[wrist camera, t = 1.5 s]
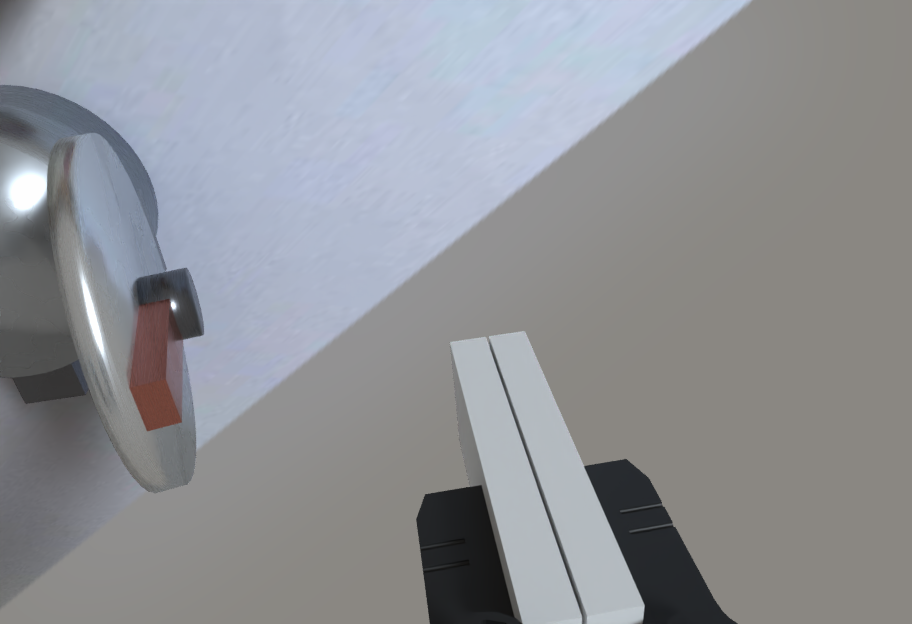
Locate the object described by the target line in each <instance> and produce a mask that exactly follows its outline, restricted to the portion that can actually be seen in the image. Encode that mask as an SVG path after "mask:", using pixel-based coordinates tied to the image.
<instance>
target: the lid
mask: <svg viewBox="0 0 912 624" xmlns="http://www.w3.org/2000/svg"><path fill="white" fill-rule="evenodd" d="M47 208H48V218H49V229H50V236H51V243H52V250H53V257H54V262H55V267H56V273H57V278H58V283H59V288H60V292H61V296H62V301H63V305H64V309H65V313H66V317H67V321H68V325H69V328H70V332H71V335H72V339H73V343H74V346H75V349H76V353H77V356H78V359H79V362H80V365H81V368H82V371H83V374H84V377H85V380H86V383H87V385H88V388H89V391H90V393H91V396H92V399H93V402H94V404H95V406H96V409H97V411H98V414H99V416H100V418H101V421H102V423H103V425H104V428H105V430H106V432H107V434H108V436H109V438H110V440H111V442H112V444H113V446H114V448H115V450H116V451H117V453H118V455H119V457H120V458H121V460H122V462H123V464H124V465H125V467H126V468H127V469H128V471H129V472H130V474H131V475H132V477H133V478H134V479H135V480H136V481H137V482H138V483H139V484H140V485H141V486H142V487H143V488H145V489H146V490H147V491H149V492H153V493H158V492H162V491H165V490H169V489H172V488H176V487H179V486H183V485H187V484H188V483H189V482H190V481H191V479H192V476H193V473H194V468H195V461H196V428H195V416H194V407H193V398H192V392H191V385H190V379H189V373H188V367H187V362H186V357H185V352H184V347H183V340H184V339H188V338H193V337H197V336H202V335H204V324H203V318H202V313H201V308H200V304H199V300H198V296H197V293H196V289H195V286H194V283H193V280H192V277H191V275H190V272H189V270H188V269H187V268H182V269H177V270H172V271H168V272H164V269H163V266H162V262H161V259H160V256H159V253H158V250H157V247H156V244H155V241H154V238H153V235H152V232H151V229H150V226H149V224H148V221H147V219H146V216H145V213H144V211H143V208H142V206H141V203H140V201H139V198H138V196H137V194H136V191H135V189H134V187H133V185H132V183H131V180H130V178H129V176H128V174H127V172H126V170H125V168H124V166H123V165H122V163H121V161H120V159H119V158H118V156H117V154H116V153H115V151H114V150H113V148H112V147H111V146H110V144H109V143H108V142H107V141H106V140H105V139H104V138H103V137H102V136H100V135H99V134H96V133H88V134H82V135H76V136H69V137H64V138H61V139H58V141H57V142H56V143H55V144H54V146H53V148H52V151H51V153H50V158H49V164H48V172H47Z"/></svg>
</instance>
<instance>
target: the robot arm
mask: <svg viewBox="0 0 912 624" xmlns="http://www.w3.org/2000/svg"><path fill="white" fill-rule="evenodd" d="M489 344H490V347H489ZM489 344H488V341H487V339H486V337H482V338H475V339H468V340H462V341H455V342H450V348H451V358H452V369H453V379H454V388H455V399H456V410H457V420H458V431H459V441H460V445H461V450H462V454H463V458H464V463H465V467H466V472H467V476H468V480H469V485H470V487H466V488H461V489H455V490H448V491H443V492H437V493H431V494H425V497H424V499H423V502H422V505H421V508H420V510H419V513H418V516H417V519H416V520H417V528H418V536H419V543H420V550H421V558H422V566H423V574H424V581H425V589H426V597H427V605H428V612H429V620H430V624H737V623H736V622H734V621H733V620H732V619H730V618H729V617H728V616H727V615H726V614H725V613H724V612H723V611H722V610H721V608H720V607H719V605H718V604H717V603H716V601H715V600H714V598H713V596H712V594H711V592H710V590H709V589H708V587H707V585H706V583H705V581H704V579H703V578H702V576H701V574H700V572H699V570H698V568H697V566H696V565H695V563H694V561H693V559H692V558H691V555H690V553H689V552H688V550H687V548H686V546H685V544H684V542H683V541H682V539H681V537H680V535H679V533H678V531H677V529H676V528H675V527H673V524H672V520H671V518H670V517H669V515H668V513H667V511H666V509H665V507H663V506H662V502H661V500H660V498H659V496H658V494H657V492H656V491H655V489H654V487H653V485H652V483H651V481H650V479H649V478H648V477H647V476H646V475H644V474H643V473H642V472H641V471H640V470H639V469H637V468H636V467H635V466H634V465H633V464H631V463H630V462H629V461H628V460H627V459H624V460H618V461H612V462H606V463H600V464H594V465H588V466H583V463H582V461H581V459H580V457H579V454H578V452H577V450H576V447H575V445H574V443H573V440H572V438H571V436H570V434H569V431H568V429H567V427H566V424H565V422H564V420H563V418H562V415H561V413H560V411H559V408H558V406H557V404H556V402H555V399H554V397H553V395H552V393H551V390H550V388H549V386H548V383H547V381H546V379H545V376H544V374H543V372H542V370H541V367H540V365H539V363H538V360H537V358H536V356H535V354H534V351H533V349H532V347H531V344H530V342H529V340H528V338H527V335H526V333H525V331H522V332H515V333H509V334H502V335H495V336H489Z"/></svg>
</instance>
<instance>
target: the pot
mask: <svg viewBox="0 0 912 624" xmlns="http://www.w3.org/2000/svg"><path fill="white" fill-rule="evenodd" d="M88 133H96V134H99V135H100V136H102V137H103V138H104V139H105V140H106V141H107V142H108V143H109V144H110V146H111V147H112V148H113V150H114V151H115V153H116V154H117V156H118V158H119V159H120V161H121V163H122V165H123V166H124V168H125V170H126V172H127V174H128V176H129V178H130V180H131V183H132V185H133V187H134V189H135V191H136V194H137V196H138V198H139V201H140V203H141V206H142V208H143V211H144V213H145V216H146V219H147V221H148V224H149V226H150V229H151V232H152V235H153V238H154V241H155V244H156V247H157V250H158V253H159V256H160V259H161V262H162V266H163V269H164V272H165V271H166V269H167V268H166V265H165V262H164V259H163V256H162V253H161V250H160V247H159V244H158V241H157V238H156V234H157V229H158V208H157V200H156V196H155V192H154V188H153V185H152V183H151V180H150V178H149V175H148V173H147V171H146V170H145V168H144V166H143V164H142V162H141V161H140V159H139V158H138V156H137V155H136V154H135V152H134V151H133V149H132V148H131V147H130V146H129V144H128V143H127V142H126V141H125V140H124V139H123V138H122V137H121V136H120V135H119V134H118V133H117V132H116V131H115V130H114V129H113V128H112V127H111V126H109V125H108V124H107V123H106V122H105V121H103V120H102V119H100V118H99V117H98V116H96V115H95V114H93V113H92V112H90V111H89V110H87V109H85V108H83V107H82V106H80V105H78V104H76V103H74V102H72V101H70V100H67V99H65V98H63V97H60V96H58V95H55V94H52V93H49V92H45V91H42V90H38V89H33V88H28V87H23V86H11V85H0V378H13V380H14V382H15V384H16V386H17V388H18V390H19V392H20V394H21V396H22V398H23V399H24V401H25V403H26V404H27V403H34V402H41V401H47V400H54V399H61V398H68V397H74V396H81V395H86V393H87V391H88V389H89V388H88V385H87V383H86V380H85V377H84V374H83V371H82V368H81V365H80V362H79V359H78V356H77V353H76V349H75V346H74V343H73V339H72V335H71V332H70V328H69V325H68V321H67V317H66V313H65V309H64V305H63V301H62V296H61V292H60V288H59V283H58V278H57V273H56V267H55V262H54V257H53V250H52V243H51V236H50V229H49V218H48V208H47V172H48V164H49V158H50V153H51V151H52V148H53V146H54V144H55V143H56V142H57V141H58V139H61V138H64V137H69V136H76V135H82V134H88Z"/></svg>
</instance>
